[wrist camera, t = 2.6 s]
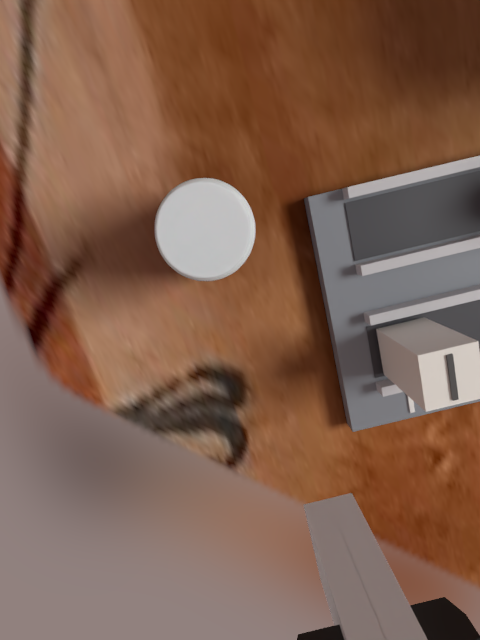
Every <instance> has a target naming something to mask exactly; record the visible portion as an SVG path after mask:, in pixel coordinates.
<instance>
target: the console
mask: <svg viewBox="0 0 480 640" xmlns="http://www.w3.org/2000/svg"><path fill="white" fill-rule="evenodd" d="M304 202H305V207H306V212H307V218H308V223H309V228H310V233H311V238H312V244H313V249H314V254H315V259H316V264H317V269H318V275H319V280H320V285H321V290H322V295H323V301H324V306H325V311H326V316H327V321H328V326H329V332H330V337H331V342H332V347H333V352H334V357H335V363H336V368H337V373H338V378H339V383H340V389H341V394H342V399H343V404H344V409H345V414H346V420H347V424H348V425H349V427H350V428H351V430H352V431H353V432H354V431H358V430H362V429H367V428H371V427H375V426H379V425H383V424H387V423H391V422H396V421H400V420H404V419H408V418H412V417H416V416H421V415H425V414H429V413H433V412H437V411H441V410H445V409H450V408H454V407H458V406H462V405H466V404H470V403H475V402H479V401H480V399H477V400H473V401H469V402H465V403H461V404H457V405H452V406H448V407H444V408H440V409H436V410H432V411H428V412H426V411H424V410H423V409H422V408H421V407H420V406H419V405H418V404H417V403H415V402H414V401H413V400H412V399H411V398H410V397H409V396H407V395H406V394H405V393H404V392H403V391H402V390H401V389H400V388H398V387H397V386H396V385H395V384H394V383H393V382H392V381H391V380H389V379H388V378H387V377H386V376H385V375H384V373H383V367H382V361H381V355H380V349H379V343H378V337H377V331H376V329H378V328H382V327H386V326H390V325H395V324H399V323H403V322H407V321H411V320H415V319H419V318H424V317H425V318H427V319H429V320H431V321H434V322H436V323H438V324H441V325H443V326H445V327H447V328H450V329H452V330H454V331H457V332H459V333H461V334H463V335H466V336H468V337H470V338H473V339H475V340H477V341H478V342H479V351H480V156H475V157H471V158H467V159H463V160H459V161H455V162H450V163H446V164H442V165H438V166H434V167H430V168H425V169H421V170H417V171H413V172H409V173H405V174H400V175H396V176H392V177H388V178H384V179H380V180H375V181H371V182H367V183H363V184H359V185H355V186H350V187H347V188H343V189H339V190H335V191H331V192H327V193H323V194H319V195H314V196H310V197H307V198H304Z"/></svg>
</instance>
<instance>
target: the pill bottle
mask: <svg viewBox="0 0 480 640" xmlns="http://www.w3.org/2000/svg"><path fill="white" fill-rule="evenodd" d="M155 239H156V243H157V247H158V249H159V251H160V253H161V255H162V257H163V258H164V260H165V261H166V263H167V264H168V265H169V266H170V267H171V268H172V269H174V270H175V271H176V272H178V273H179V274H181V275H183V276H185V277H187V278H190V279H193V280H197V281H214V280H219V279H222V278H225V277H227V276H229V275H231V274H233V273H234V272H235V271H236V270H238V269H239V268H240V267H241V266H242V265H243V263H244V262H245V261H246V260H247V258H248V256H249V255H250V253H251V250H252V248H253V244H254V240H255V220H254V216H253V213H252V210H251V208H250V206H249V204H248V202H247V201H246V199H245V198H244V197H243V196H242V195H241V193H240V192H239V191H238V190H236V189H235V188H234V187H232V186H231V185H229V184H227V183H225V182H223V181H221V180H217V179H212V178H196V179H192V180H188V181H186V182H183V183H181V184H179V185H178V186H176V187H175V188H174V189H172V190H171V191H170V192H169V193H168V194H167V196H166V197H165V198H164V199H163V201H162V203H161V204H160V206H159V208H158V211H157V214H156V217H155Z"/></svg>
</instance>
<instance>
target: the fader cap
mask: <svg viewBox="0 0 480 640" xmlns="http://www.w3.org/2000/svg"><path fill="white" fill-rule="evenodd" d="M376 331H377V337H378V343H379V349H380V355H381V361H382V367H383V373H384V375H385V376H386V377H387V378H388V379H389V380H391V381H392V382H393V383H394V384H395V385H396V386H397V387H398V388H400V389H401V390H402V391H403V392H404V393H405V394H406V395H407V396H409V397H410V398H411V399H412V400H413V401H414V402H415V403H417V404H418V405H419V406H420V407H421V408H422V409H423V410H424V411H426V412H428V411H432V410H436V409H440V408H444V407H448V406H452V405H457V404H461V403H465V402H469V401H473V400H477V399H480V351H479V342H478V341H477V340H475V339H473V338H470V337H468V336H466V335H463V334H461V333H459V332H457V331H454V330H452V329H450V328H447V327H445V326H443V325H441V324H438V323H436V322H434V321H431V320H429V319H427V318H425V317H424V318H419V319H415V320H411V321H407V322H403V323H399V324H395V325H390V326H386V327H382V328H378V329H376Z"/></svg>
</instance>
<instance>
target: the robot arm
mask: <svg viewBox="0 0 480 640" xmlns="http://www.w3.org/2000/svg"><path fill="white" fill-rule="evenodd" d="M304 509H305V513H306V517H307V522H308V526H309V531H310V535H311V539H312V544H313V548H314V552H315V557H316V561H317V566H318V570H319V574H320V579H321V582H322V585H323V589H324V592H325V595H326V598H327V602H328V605H329V609H330V612H331V615H332V619H333V622H334V625H335V626H331V627H327V628H323V629H319V630H315V631H311V632H307V633H303V634H299V635H298V638H297V640H480V636H479V634H478V632H477V631H476V630H475V628H474V626H473V625H472V623H471V622H470V620H469V619H468V617H467V616H466V614H465V613H463V612H462V611H461V610H460V609H458V608H457V607H456V606H455V605H453V604H452V603H451V602H450V601H449V600H447V599H446V598H445V597H443V598H439V599H435V600H431V601H427V602H423V603H418V604H415V605H411V606H410V605H409V603H408V601H407V599H406V597H405V595H404V593H403V591H402V589H401V587H400V585H399V583H398V581H397V579H396V578H395V576H394V574H393V572H392V570H391V568H390V566H389V564H388V562H387V560H386V558H385V556H384V554H383V553H382V550H381V549H380V547H379V545H378V543H377V541H376V539H375V537H374V535H373V533H372V531H371V529H370V527H369V525H368V523H367V522H366V520H365V518H364V516H363V514H362V512H361V510H360V508H359V506H358V504H357V502H356V500H355V498H354V496H353V494H352V493H350V494H346V495H342V496H338V497H333V498H329V499H325V500H321V501H317V502H313V503H309V504H305V505H304Z"/></svg>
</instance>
